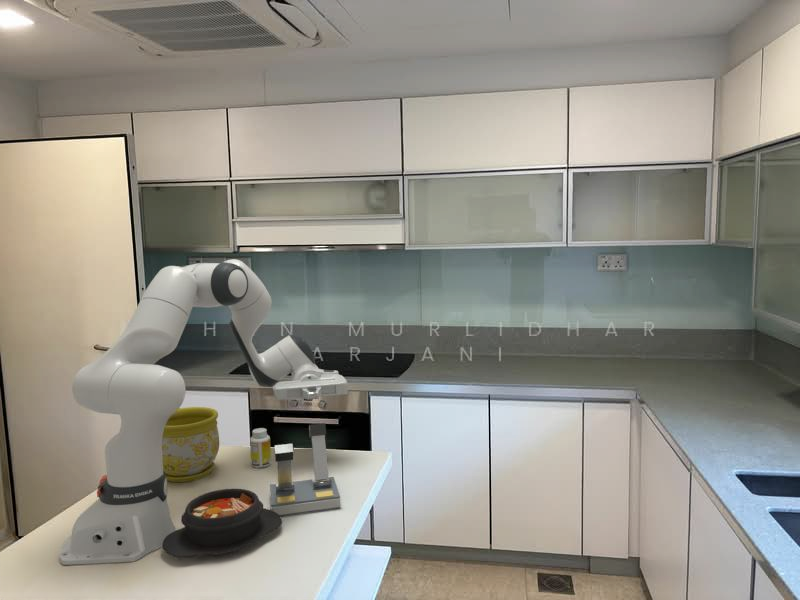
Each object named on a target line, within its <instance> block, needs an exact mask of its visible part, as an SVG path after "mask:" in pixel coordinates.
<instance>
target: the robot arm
mask: <svg viewBox="0 0 800 600" xmlns="http://www.w3.org/2000/svg"><path fill="white" fill-rule="evenodd" d="M221 306H222V307H223V306H224V307H228V308H229V309H230V312H231V319H230V320H229V324H228V325H229V328H230V332H231V333H232V336H233V337H234V341H235V342H236V344H237V346H238V348H239V350H240V352H241V354H242V356H243V359H244V360H245V361H246V363H247V366H248V369H249V373H250V375H251V377H252V379H253V381H254V382H255V383H256V384H257V385H258V386H260V387H262V388H272V391H273V394H274V395H273V396H274V400H275V401H278V402H279V401H289V400H299V399H300V400H301V399H302V400H308V401H311V400H317V399H320V398H322V397H331V396H332V397H333V396H342V395H347V394H348V393H349V392H348V391H349V389H348V381H347V379H346V378H345V377H344V376H343V375H341V374H339V371H338V370H333V369H331V370H330V369H321V368H319V367H318V366H317V364H316V356H315V354H314V352H313V350H312V349H311V347H310V346H309V344H308V343H307V341H306V340H304V339H303V337H301V336H300V335H297V334H296V335H295V334H288V335H287V336H285V337H284V338H282V339H281V340H279V341H278V342H277V343H275V344H274V345H272V346H270V347H269V348H268V349H266V350H264V351H263V352H261V353H258V351H257V349H256V348H255V345H254V344H253V337H254V336H255V333H256V332H257V331H258V329H259V328H260V327H261V325H262V324H263V323H265V321H266V319H267V318H268V317H269V314H270V313H271V309H272V297H271V295H270V293H269V291H268V290H267V288H266V286H265V285H264V283H263V282H262V280H261V279H260V278H259V277H258V275H257V274H256V273H255V272H254V271H253V270H252V269H251V268H250V267H249V266H248V265H247V264H246V263H244V262H243V261H242V260H239V259H235V258H233V259H227V260H225V261H222V262H219V263H218V262H199V263H193V264H189V265H185V264H184V265H180V266H178V265H177V266H176V265H168V266H164V267H163V268H161V269H160V270H159V271H158V272H157V274H155V276H154V278H153V279H152V280H151V282H150V283H149V285H148V286H147V287H146V289H145V291H144V293H143V294H142V296H141V299H140V300H139V303H138V304H137V307H136V309H135V310H134V313H133V315H132V317H131V319H130V320H129V322H128V325H127V326H126V328H125V329H124V331H123V332H122V334H121V335H120V336H119V337H118V339H117V340H116V341H115V342H114V343H113V344H112V345H111V346H110V347H109V348H108V349H107V350H106V351H105V352H104V353H103V354H102V355H101V356H99V357H98V358H97V359H96V360H94V361H92V362H90V363H88V364H87V365H84V366H83V367H82V368H80V370H78V372H77V373H76V375H75V376H74V378H73V381H72V386H71V392H72V396H73V398H74V400H75V402H76V403H77V405H79V406H81V407H83V408H85V409H87V410H91V411H93V412H96V413H99V414H107V415H110V414H111V415H117V416H120V419H121V420H120V421H121V422H120V426H119V427H120V428H119V432H118V433H116V434H115V435H114V436H112V438H110V440H108V442H107V443H106V445H105V448H104V455H105V456H104V457H105V468H106V474H105V475H103V476H102V477H100V478H101V479H100V480H99V482H98V483H99V484H98V486H97V490H96V496H97V497H96V498H97V499H96V500H95V501H94V502H93V503H92V504H91V505H89V506H88V507H87V508H86V509H85V510H84V511H83V512H82V513H80V514H79V516H78V517H77V518H76V520H75V522H74V524H73V527H72V530H71V534H70V535H71V536H70V537H69V538H68V539H67V540H66V541H65V542H64V543H63V545H62V547H61V548H60V552H59V562H60V563H61V565H63V566H68V565H88V564H89V565H90V564H92V565H93V564H109V563H129V562H135V561H138V560H139V559H141V558H143V557H144V556H146V555H147V554H149V553H151V552H153V551H156V550H157V549H160V548H163V541H164V539H165V538H166V536H167V535H169V534H170V533H172V532H174V531H176V527H175V526H174V522H173V520H172V517H171V514H170V509H169V505H168V500H167V498H168V493H169V491H168V480H167V478H166V474H165V471H164V470H163V460H162V436H163V432H164V428H165V425H166V423H167V421H168V419H169V418H170V416H171V415H172V414H174V413H175V412H176V411H177V410H178V409H179V408H181V406H182V404H183V402H184V400H185V397H186V391H187V390H186V388H187V387H186V383H185V380H184V377H183V375H182V374H180V372H179V371H177V370H175V369H172V368H169V367H166V366H164V365H163V366H162V365H159V364H156V363H157V362H159V360H160V359H163V358H164V357H166V356H168V355H170V354H171V353H172V352H173V351H175V349H176V348H177V346H178V344H179V341H180V339H181V336H182V334H183V332H184V330H185V328H186V326H187V322H188V321H189V318H190V315H191V313H192V310H193V307H195V308H217V307H221ZM289 374H291V380H288V381H287V380H285V381H281V380H282V379H284V378H285V377H287V376H288V375H289ZM319 397H320V398H319Z"/></svg>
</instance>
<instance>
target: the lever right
mask: <svg viewBox="0 0 800 600" xmlns="http://www.w3.org/2000/svg"><path fill="white" fill-rule="evenodd" d="M308 431H309V433H308V434H309V438H311V447H312V458H313V461H312V462H313V470H314V471H313V472H314V479H315V481H319V482H313V488H319V487H327V486H332V482H331V480H328V479H329V477H330V476H329V467H328V458H327V457H328V456H327V446H326V445H327V444H326V436H327V427H326V423H325V422H324V423H315V424H309V426H308ZM320 480H327V481H320Z"/></svg>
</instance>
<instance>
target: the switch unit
mask: <svg viewBox="0 0 800 600" xmlns="http://www.w3.org/2000/svg"><path fill="white" fill-rule="evenodd" d="M328 480H331V482H332V486H327V487H319V488H313V482H319V481H315V478H311V479H304V480H296V481H292V485H294V489H295V491H287V492H279V493H276V487H278V482H277V483H272V484H269V490H270V491H269V492H270V506H271V509H270V510H271V511H274V512H276V513H277V514H278V515H279V516H280V517H286V516H293V515H294V516H295V515H301V514H308V513H317V512H323V511H331V510H338V509H341V496H340V492H339V488H338V487H337V483H336V480H335V477H334V476H329V479H328ZM320 481H327V480H320Z"/></svg>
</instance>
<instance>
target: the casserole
mask: <svg viewBox="0 0 800 600" xmlns="http://www.w3.org/2000/svg"><path fill="white" fill-rule="evenodd" d="M184 510H185V511H184V512H183V514H182V515H181V519H180V520H181V524H182V525H183V526H184V527H182V528H179V529H177V530H176V529H175V530H176V531H174V532H172V533H170V534H169V535H167V536H166V538H165V539H164V541H163V546H162V549H163V550H164V552H165V553H166V554H167V555H169V556H171V557H174V558H179V559H180V558H181V559H185V558H192V557H197V556H205V555H206V556H207V555H208V556H209V555H220V554H227V553H228V554H229V553H231V552H235V551H239V550H242V549H244V548H246V547H249V546H250V545H252V544H254V543H256V542H257V541H259V540H261V539H262V538H263V537H264V536H266V535H268V534H270V533H272V532H275V531H276V530H278V529H279V528H280V527H281V526H282V524H283V521H282V518H281V517H282V516H279V515H278V514H277V513H276V512H274V511H271V509H268V508H264V504H263V502H262V501H261V500H260V499H259V497H258V495H257V493H255V492H253V491H251V490H248V489H245V488H224V489H223V488H221V489H218V490H213V491H209V492H206V493H203V494H200V495H199V496H196V497H195V498H194V499H192V500H190V501H189V503H187V505H186V506H185V509H184Z"/></svg>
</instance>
